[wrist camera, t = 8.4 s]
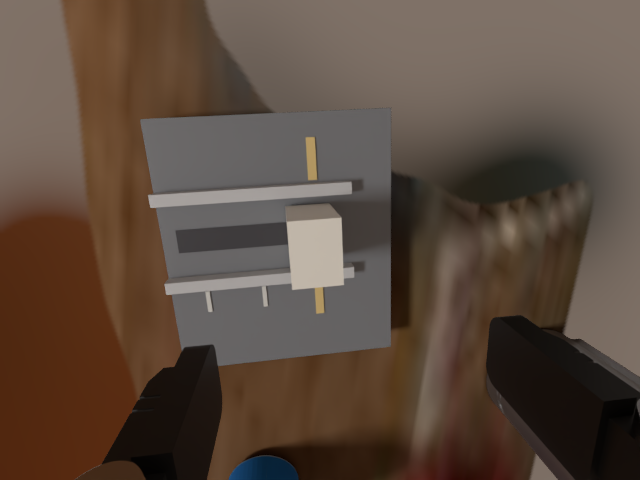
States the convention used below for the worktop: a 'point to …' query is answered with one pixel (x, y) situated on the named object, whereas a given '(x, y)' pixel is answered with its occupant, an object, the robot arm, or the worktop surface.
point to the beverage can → (264, 469)
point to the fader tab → (314, 246)
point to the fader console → (272, 229)
